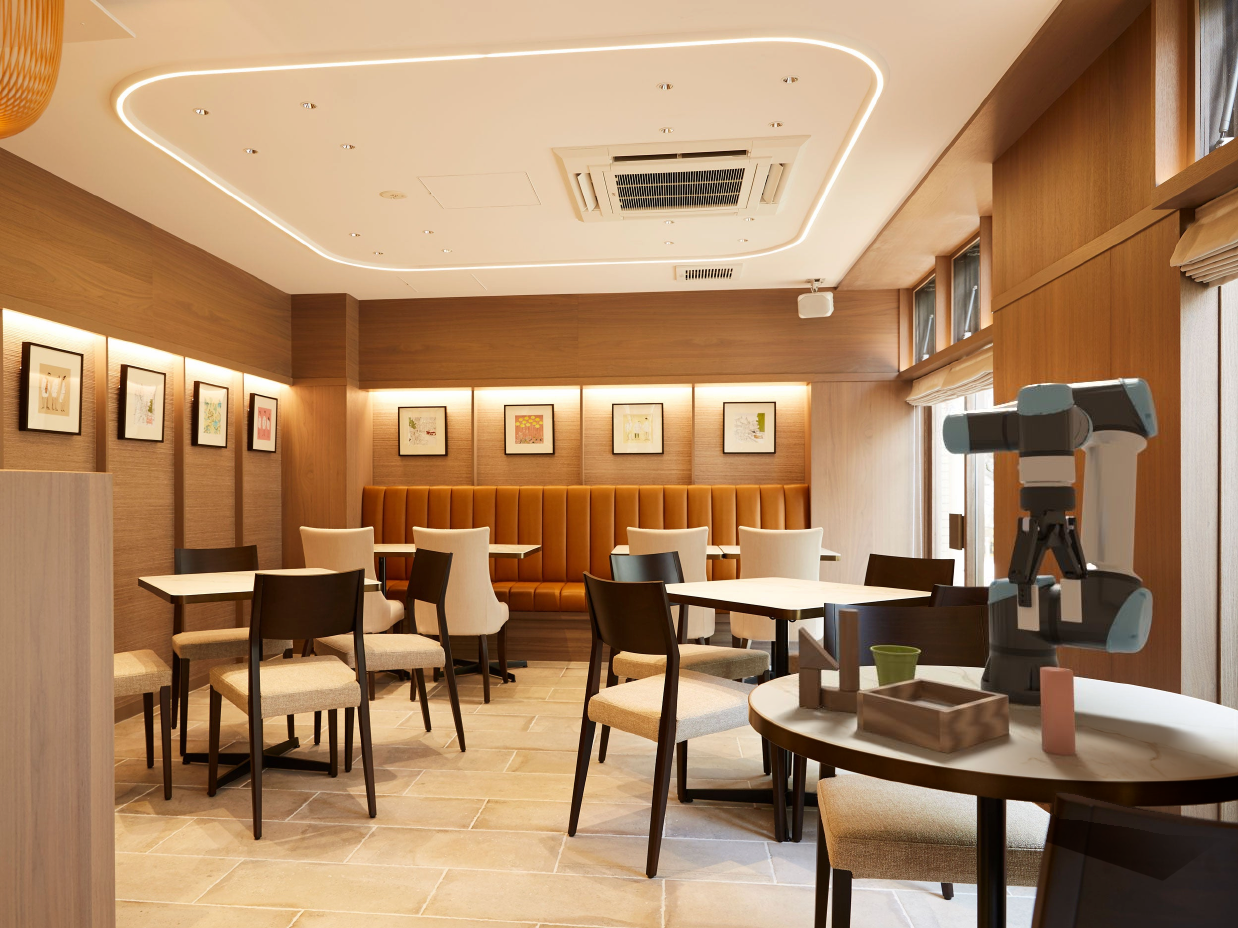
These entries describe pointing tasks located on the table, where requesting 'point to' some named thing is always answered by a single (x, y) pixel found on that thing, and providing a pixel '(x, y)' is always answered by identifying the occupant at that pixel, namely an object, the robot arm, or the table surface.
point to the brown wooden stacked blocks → (831, 667)
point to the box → (933, 714)
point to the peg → (1057, 710)
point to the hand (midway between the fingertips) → (1050, 625)
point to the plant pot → (895, 663)
